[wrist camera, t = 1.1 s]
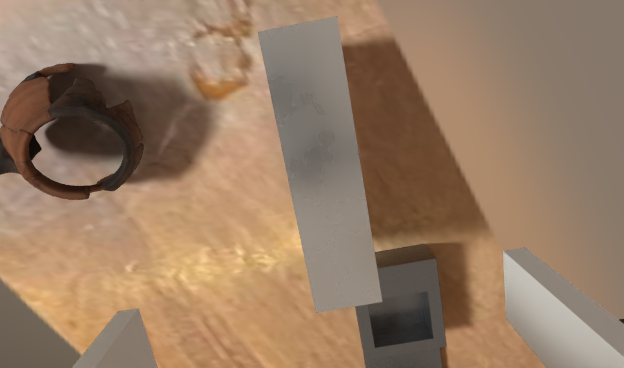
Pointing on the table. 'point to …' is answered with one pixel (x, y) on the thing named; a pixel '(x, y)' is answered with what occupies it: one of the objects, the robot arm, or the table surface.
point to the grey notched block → (322, 161)
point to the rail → (404, 312)
